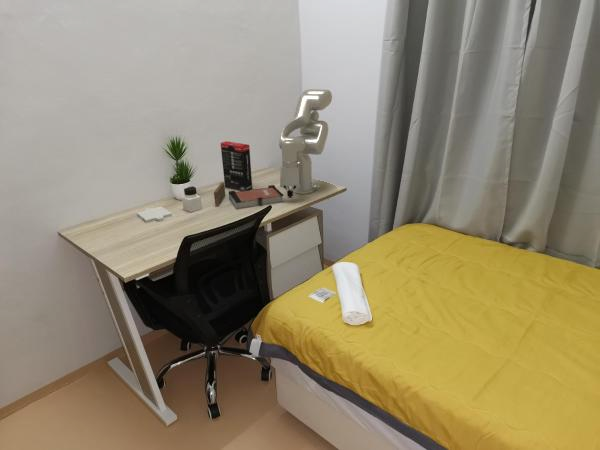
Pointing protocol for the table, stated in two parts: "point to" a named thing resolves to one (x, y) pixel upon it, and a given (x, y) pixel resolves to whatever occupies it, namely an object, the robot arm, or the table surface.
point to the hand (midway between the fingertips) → (290, 197)
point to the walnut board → (219, 194)
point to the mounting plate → (154, 214)
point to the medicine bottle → (191, 200)
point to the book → (255, 197)
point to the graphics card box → (236, 165)
